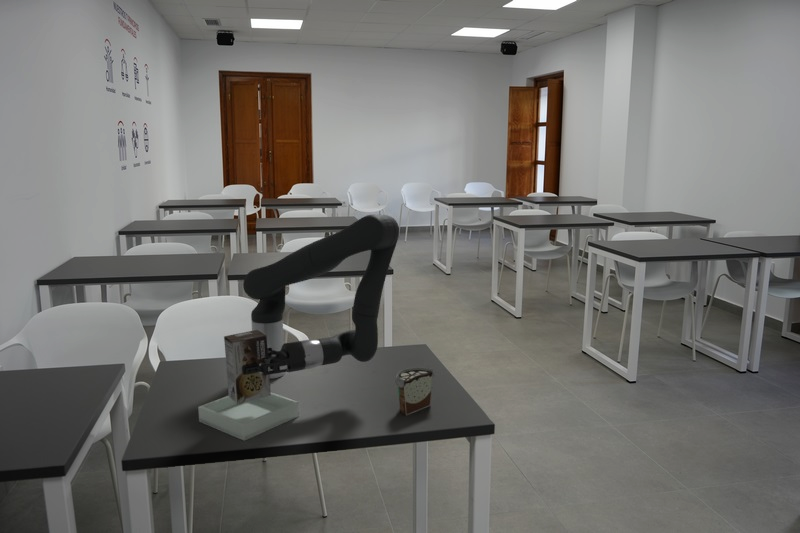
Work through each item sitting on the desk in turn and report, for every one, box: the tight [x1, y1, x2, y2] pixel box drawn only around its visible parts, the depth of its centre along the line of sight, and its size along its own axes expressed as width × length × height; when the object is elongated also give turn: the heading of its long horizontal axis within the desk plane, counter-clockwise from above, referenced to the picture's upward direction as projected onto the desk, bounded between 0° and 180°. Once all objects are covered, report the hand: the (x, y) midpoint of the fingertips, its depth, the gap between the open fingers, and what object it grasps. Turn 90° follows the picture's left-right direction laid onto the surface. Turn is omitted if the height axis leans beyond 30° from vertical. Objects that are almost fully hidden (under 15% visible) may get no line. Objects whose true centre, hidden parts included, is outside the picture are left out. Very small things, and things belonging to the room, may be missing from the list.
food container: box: [395, 366, 436, 416], centre depth 170 cm, size 12×6×10 cm, turn 134°
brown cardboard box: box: [223, 330, 272, 404], centre depth 161 cm, size 9×6×16 cm
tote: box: [197, 392, 300, 442], centre depth 163 cm, size 18×18×4 cm
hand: (239, 365), depth 160 cm, fingers closed on brown cardboard box, 7 cm apart
